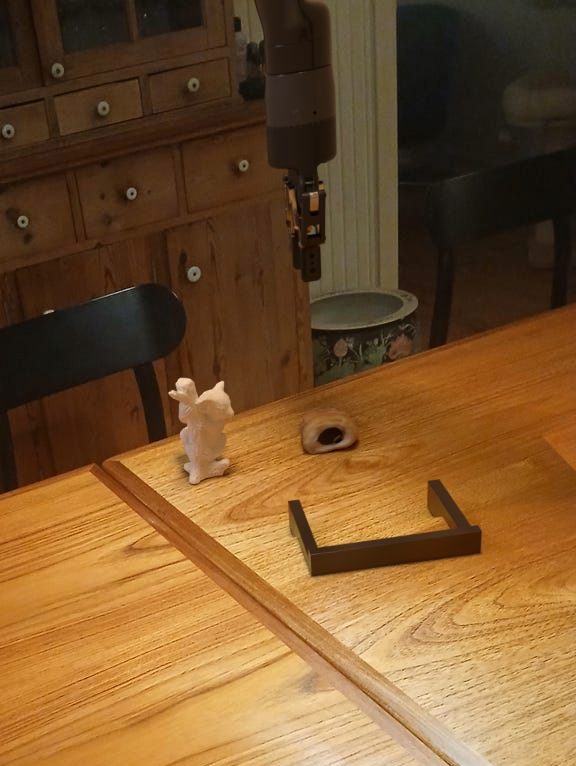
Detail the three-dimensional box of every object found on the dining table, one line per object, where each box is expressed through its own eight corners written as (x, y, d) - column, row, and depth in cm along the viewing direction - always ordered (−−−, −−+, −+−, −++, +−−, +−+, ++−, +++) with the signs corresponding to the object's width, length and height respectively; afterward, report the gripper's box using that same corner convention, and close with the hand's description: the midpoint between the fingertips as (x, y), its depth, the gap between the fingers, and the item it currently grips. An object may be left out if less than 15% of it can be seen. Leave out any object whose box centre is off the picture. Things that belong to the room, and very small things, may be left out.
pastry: (294, 426, 124) (292, 397, 122) (348, 419, 123) (348, 389, 121) (304, 456, 116) (303, 426, 114) (362, 449, 115) (362, 419, 113)
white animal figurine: (197, 493, 113) (185, 393, 106) (160, 477, 118) (147, 381, 111) (251, 466, 116) (243, 368, 110) (214, 452, 121) (204, 357, 115)
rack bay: (438, 504, 102) (439, 469, 100) (479, 568, 91) (482, 530, 89) (289, 526, 103) (287, 491, 101) (312, 591, 92) (310, 555, 90)
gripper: (349, 117, 101) (351, 285, 111) (322, 102, 113) (326, 254, 122) (276, 130, 102) (284, 296, 111) (257, 114, 114) (266, 264, 123)
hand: (306, 273), depth 117 cm, fingers open, 5 cm apart
